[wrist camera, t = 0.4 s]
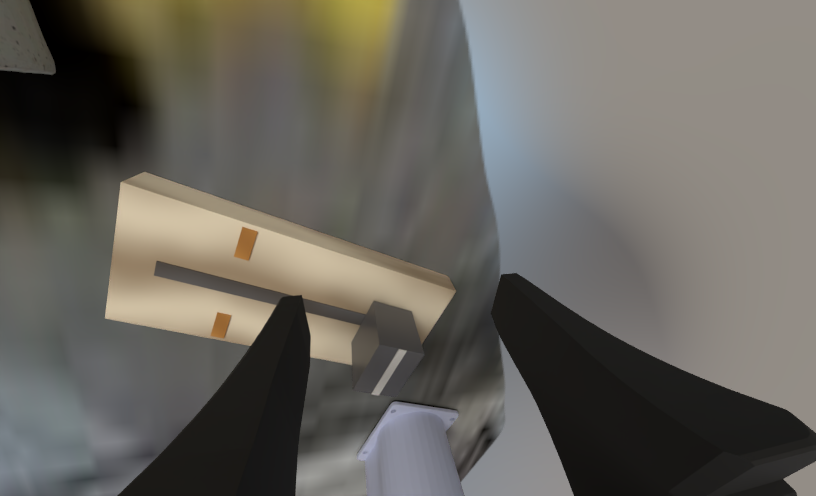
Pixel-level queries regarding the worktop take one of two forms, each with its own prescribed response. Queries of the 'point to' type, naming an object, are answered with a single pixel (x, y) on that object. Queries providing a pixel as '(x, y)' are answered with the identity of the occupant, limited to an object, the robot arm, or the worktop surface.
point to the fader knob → (385, 350)
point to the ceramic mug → (22, 40)
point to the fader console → (250, 271)
